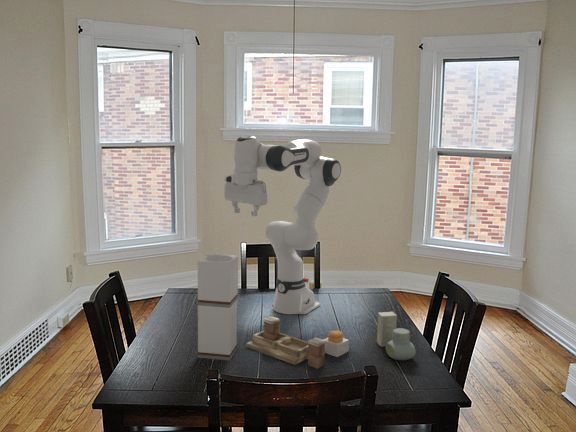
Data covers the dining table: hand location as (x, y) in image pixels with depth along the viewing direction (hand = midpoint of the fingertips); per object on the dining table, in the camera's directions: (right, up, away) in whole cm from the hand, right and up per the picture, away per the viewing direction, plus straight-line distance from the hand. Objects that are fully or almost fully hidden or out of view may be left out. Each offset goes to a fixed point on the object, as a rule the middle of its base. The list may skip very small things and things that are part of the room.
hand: (245, 214), depth 222 cm
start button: (+34, -46, -13) cm, 59 cm away
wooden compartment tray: (+14, -50, -12) cm, 53 cm away
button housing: (+34, -50, -13) cm, 62 cm away
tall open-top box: (-9, -50, -16) cm, 53 cm away
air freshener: (+57, -52, -16) cm, 78 cm away
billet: (+26, -52, -24) cm, 63 cm away
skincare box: (+54, -49, -5) cm, 73 cm away
